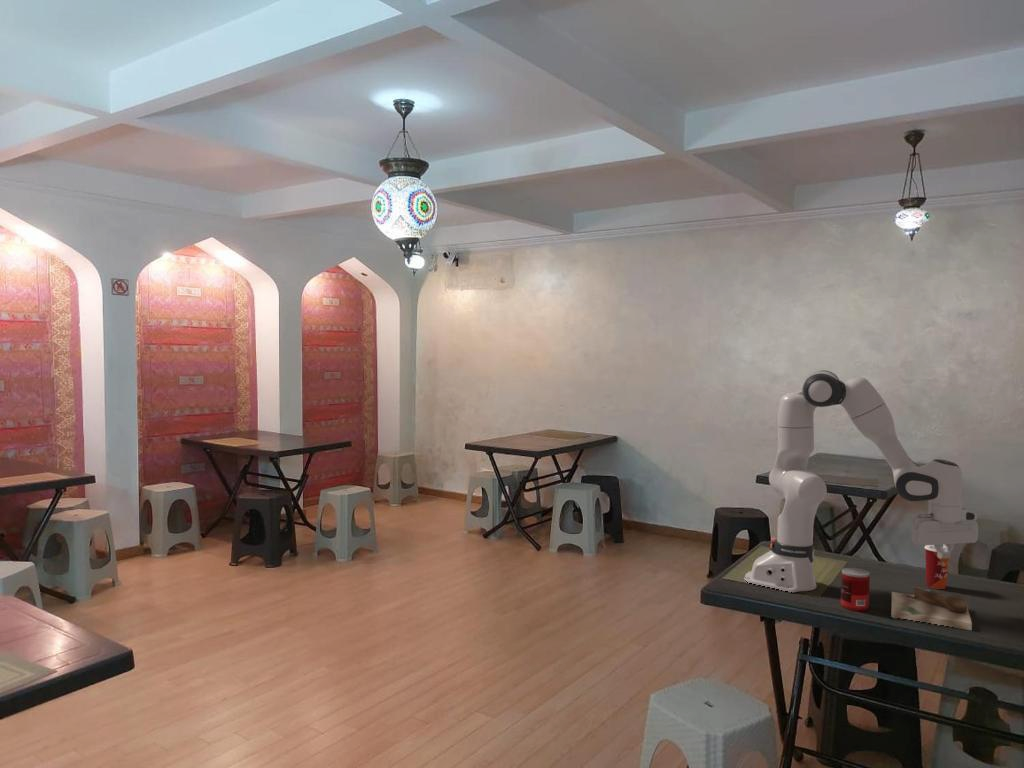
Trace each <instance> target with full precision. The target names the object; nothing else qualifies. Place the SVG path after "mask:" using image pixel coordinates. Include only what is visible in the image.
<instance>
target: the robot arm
mask: <svg viewBox="0 0 1024 768" xmlns="http://www.w3.org/2000/svg"><path fill="white" fill-rule="evenodd" d="M837 405H841V406H842V407H843V409H844V410H845V412H846V413H847V415H848V416H849V418H850V419H851V421H852V423H853V424H854V426H855V428H857V430H858V431H859V433H860V434H862V435H863V436H864V437H865V438H866V439H868V440H870V441H871V442H872V443H874V444H875V445H876V447H877V448H878V449H879V450H880V452H881V454H882V455H883V457H884V458H885V460H886V462H887V464H888V465H889V467H890V468H891V475H892V483H893V485H894V487H895V489H896V492H897V494H898V495H899V496H900V497H901V498H903V500H906V501H909V502H923V501H924V502H925V501H928V502H927V503H928V506H927V507H928V508H927V510H928V511H927V513H924V514H921V513H920V514H917V515H916V516H915V517H914V518H913V520H912V528H911V533H910V540H911V542H912V543H913V544H915V545H918V546H920V547H921V546H926V545H934V547H935V549H936V550H937V552H938V554H937V556H938V558H940V559H942V558H949V559H950V558H951V553H952V552H953V550H954V548H955V545H956V544H974V543H977V541H978V539H979V525H978V524H979V523H978V522H977V519H978V513H976V512H974V511H971V510H969V509H966V508H963V502H962V493H963V473H962V469H961V467H960V465H958V464H957V463H955V462H953V461H950V460H945V459H937V458H936V459H932V460H931V461H929V462H928V463H925V464H923V465H918V464H917V463H915V462H914V461H913V460H912V459H911V458H910V457H909V454H908V453H907V452H906V449H904V447H903V445H902V443H901V441H900V440H899V438H898V436H897V434H896V433H897V432H896V429H895V421H894V418H893V416H892V413H891V411H890V409H889V407H888V405H887V404H886V402H885V400H884V399H883V397H882V396H881V394H880V393H879V392H878V391H877V389H876V388H875V387H874V385H873V384H872V383H871V381H869V380H868V379H867V378H866V377H862V376H861V377H860V376H857V377H852V378H850V379H847V380H841V379H840V378H839V377H838V376H837V374H836V373H834V372H832V371H830V370H827V369H826V370H825V369H823V370H818V371H817V370H816V371H815V372H813V373H811V374H809V375H808V377H806V379H805V381H804V383H803V386H802V388H801V390H799V391H791V392H788V393H785V394H784V395H782V396H781V398H780V399H779V404H778V411H777V451H776V457H775V461H774V462H775V463H774V466H773V468H772V469H771V470H770V472H769V474H768V481H769V485H770V487H771V488H772V489H773V490H774V492H775V493H776V494H777V495H779V496H782V497H784V498H785V502H784V506H783V509H782V511H781V513H780V514H779V516H778V517H777V525H776V526H777V528H776V530H777V532H776V537H772V538H771V540H770V547H769V549H770V550H769V551H767V552H765V553H764V554H763V555H762V554H761V555H760V556H759V557H757V558H756V559H755V560H754V563H753V564H752V568H751V570H749V571H748V572H746V573H745V574H744V581H745V580H746V581H747V582H748V583H747V582H746V583H747V584H749V583H752V584H751V585H753V584H756V585H755V586H758V585H761V586H760V587H762V586H765V587H764V588H767V587H770V588H769V589H772V588H775V589H774V590H776V589H779V590H778V591H781V590H782V591H781V592H785V591H788V592H787V593H791V592H792V593H797V592H809V591H814V590H816V589H817V587H818V586H817V583H816V579H815V573H814V571H815V570H814V564H813V563H814V560H815V544H814V543H813V542H814V540H813V539H814V523H815V517H816V514H817V511H818V508H819V505H820V504H821V503H822V502H823V501H824V500H825V498H826V497H827V492H828V491H827V484H826V483H825V481H824V480H823V479H822V478H821V477H820V476H819V475H818V474H816V473H814V472H813V471H810V470H808V462H809V458H810V456H811V454H812V453H813V452H814V448H815V439H814V437H815V435H814V433H815V432H814V431H815V430H814V429H815V428H814V425H815V424H814V423H815V422H814V415H815V414H814V413H815V410H816V409H817V408H826V407H831V406H837ZM943 544H945V546H946V548H945V550H944V551H942V548H943Z"/></svg>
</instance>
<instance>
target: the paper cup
mask: <svg viewBox="0 0 1024 768" xmlns="http://www.w3.org/2000/svg"><path fill="white" fill-rule="evenodd" d="M945 548H946V546H945V544H943V548H942V551H944V550H945ZM924 549H925V550H924V551H925V582H926V583H925V584H926V587H927V586H929V587H932V588H935V589H934V590H937V589H944V590H946V588H947V581H948V575H949V573H948V572H949V564H950V558H942V559H940V558H938V556H937V554H938V552H937V550H936V549H935V547H934V545H924ZM929 587H928V588H929ZM932 588H931V589H932Z"/></svg>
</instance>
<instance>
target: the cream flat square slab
mask: <svg viewBox="0 0 1024 768" xmlns="http://www.w3.org/2000/svg"><path fill="white" fill-rule="evenodd" d="M968 608H969V607H967V612H955V611H951V610H949V609H948V608H947V607H944V606H940V605H937V604H934V603H930V602H927V601H924V600H920V599H917V598H914V594H910V593H909V594H908V593H901V592H896V591H891V614H890V617H892V618H893V619H897V618H900V619H899V620H903V619H908V620H907V621H909V620H913V621H912V622H915V621H920V622H919V623H921V622H926V623H925V624H928V623H931V624H930V625H934V624H937V625H936V626H940V625H944V626H943V627H946V626H949V627H948V628H952V627H954V629H959V630H966V631H973V629H972V628H973V627H972V626H973V623H972V618H971V616H970V612H969V609H968Z"/></svg>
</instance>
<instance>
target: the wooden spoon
mask: <svg viewBox="0 0 1024 768" xmlns="http://www.w3.org/2000/svg"><path fill="white" fill-rule="evenodd" d="M913 593H914V594H913V595H914V598H917V599H920V600H924V601H927V602H930V603H934V604H937V605H940V606H944V607H947V608H948V609H949V610H951V611H955V612H967V608H968V597H966V596H963V595H957V594H946V593H945V594H944V593H942V592H937V591H934V590H930V589H927V588H924V587H920V586H915V587H914V592H913Z"/></svg>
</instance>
